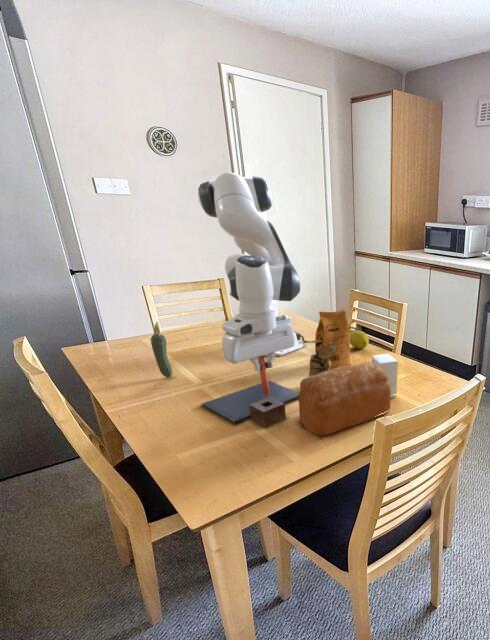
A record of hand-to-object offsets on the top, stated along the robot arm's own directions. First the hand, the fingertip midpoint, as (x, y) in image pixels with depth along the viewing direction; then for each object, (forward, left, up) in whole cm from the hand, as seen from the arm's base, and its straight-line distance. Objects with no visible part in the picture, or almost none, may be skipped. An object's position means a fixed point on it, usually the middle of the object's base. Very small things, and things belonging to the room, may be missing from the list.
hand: (263, 369), depth 113 cm
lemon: (-65, -25, -16) cm, 71 cm away
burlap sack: (-25, -4, -16) cm, 30 cm away
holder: (0, 0, -16) cm, 16 cm away
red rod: (0, 0, -8) cm, 8 cm away
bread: (-16, +16, -16) cm, 28 cm away
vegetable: (+5, -50, -16) cm, 53 cm away
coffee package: (-43, -18, -16) cm, 49 cm away
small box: (-36, +14, -16) cm, 42 cm away
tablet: (-4, -13, -16) cm, 21 cm away
